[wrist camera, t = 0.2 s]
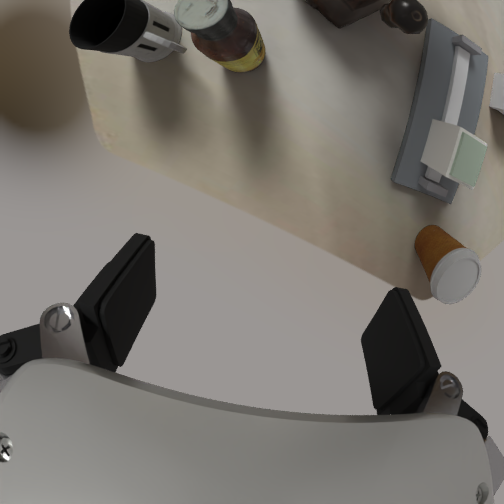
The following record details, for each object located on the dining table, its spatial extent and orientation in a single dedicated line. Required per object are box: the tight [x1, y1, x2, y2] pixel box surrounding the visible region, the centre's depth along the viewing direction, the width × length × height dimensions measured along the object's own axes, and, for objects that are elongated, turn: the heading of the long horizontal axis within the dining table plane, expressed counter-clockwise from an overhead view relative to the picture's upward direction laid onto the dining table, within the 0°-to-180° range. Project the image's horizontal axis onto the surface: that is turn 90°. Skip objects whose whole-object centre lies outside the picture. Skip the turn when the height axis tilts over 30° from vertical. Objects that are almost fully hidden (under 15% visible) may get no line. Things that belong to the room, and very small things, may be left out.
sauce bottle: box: [174, 0, 265, 72], centre depth 21 cm, size 6×6×20 cm
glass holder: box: [69, 0, 187, 62], centre depth 23 cm, size 9×14×15 cm, turn 56°
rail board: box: [391, 18, 488, 204], centre depth 25 cm, size 28×12×10 cm, turn 170°
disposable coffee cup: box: [415, 225, 481, 304], centre depth 36 cm, size 10×10×12 cm
